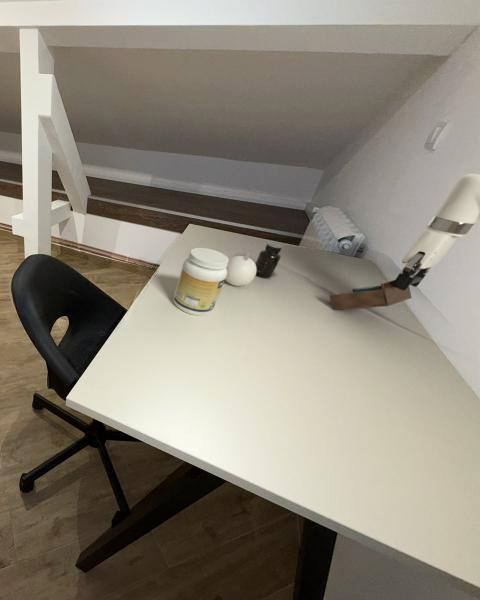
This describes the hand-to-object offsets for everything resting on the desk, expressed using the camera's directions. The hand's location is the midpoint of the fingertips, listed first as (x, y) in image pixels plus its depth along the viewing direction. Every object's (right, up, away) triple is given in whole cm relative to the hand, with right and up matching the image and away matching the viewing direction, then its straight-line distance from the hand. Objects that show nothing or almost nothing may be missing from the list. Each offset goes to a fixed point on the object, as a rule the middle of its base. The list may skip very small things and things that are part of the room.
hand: (404, 285), depth 89 cm
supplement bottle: (-25, +5, +29) cm, 38 cm away
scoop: (-2, -5, +6) cm, 8 cm away
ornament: (-39, +2, +20) cm, 44 cm away
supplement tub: (-59, -6, +6) cm, 60 cm away
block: (-3, -5, +8) cm, 9 cm away
